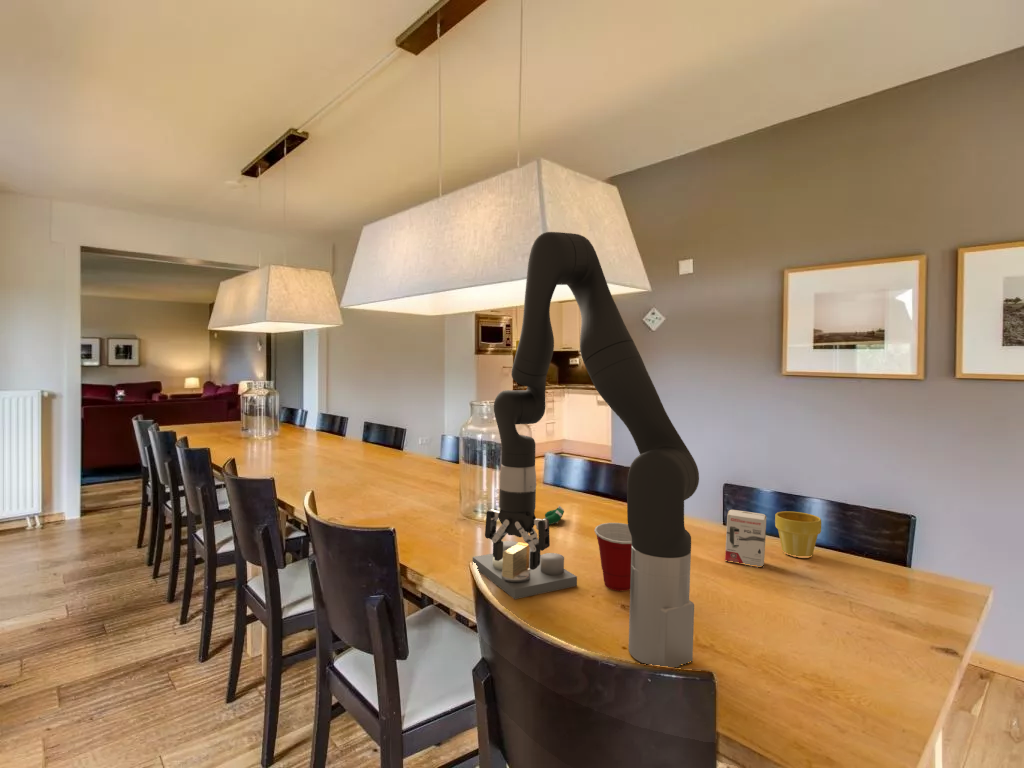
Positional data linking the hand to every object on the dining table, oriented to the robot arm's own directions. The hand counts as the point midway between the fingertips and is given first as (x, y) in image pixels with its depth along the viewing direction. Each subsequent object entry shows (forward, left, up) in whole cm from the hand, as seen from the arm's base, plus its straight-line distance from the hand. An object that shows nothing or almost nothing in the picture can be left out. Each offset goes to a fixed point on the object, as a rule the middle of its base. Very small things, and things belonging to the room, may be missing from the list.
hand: (516, 563), depth 112 cm
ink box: (-11, -57, -5) cm, 58 cm away
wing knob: (0, 0, -3) cm, 3 cm away
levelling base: (+5, -4, -5) cm, 8 cm away
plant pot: (-13, -74, -5) cm, 75 cm away
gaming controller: (+37, -33, -5) cm, 50 cm away
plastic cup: (-9, -20, -5) cm, 23 cm away
